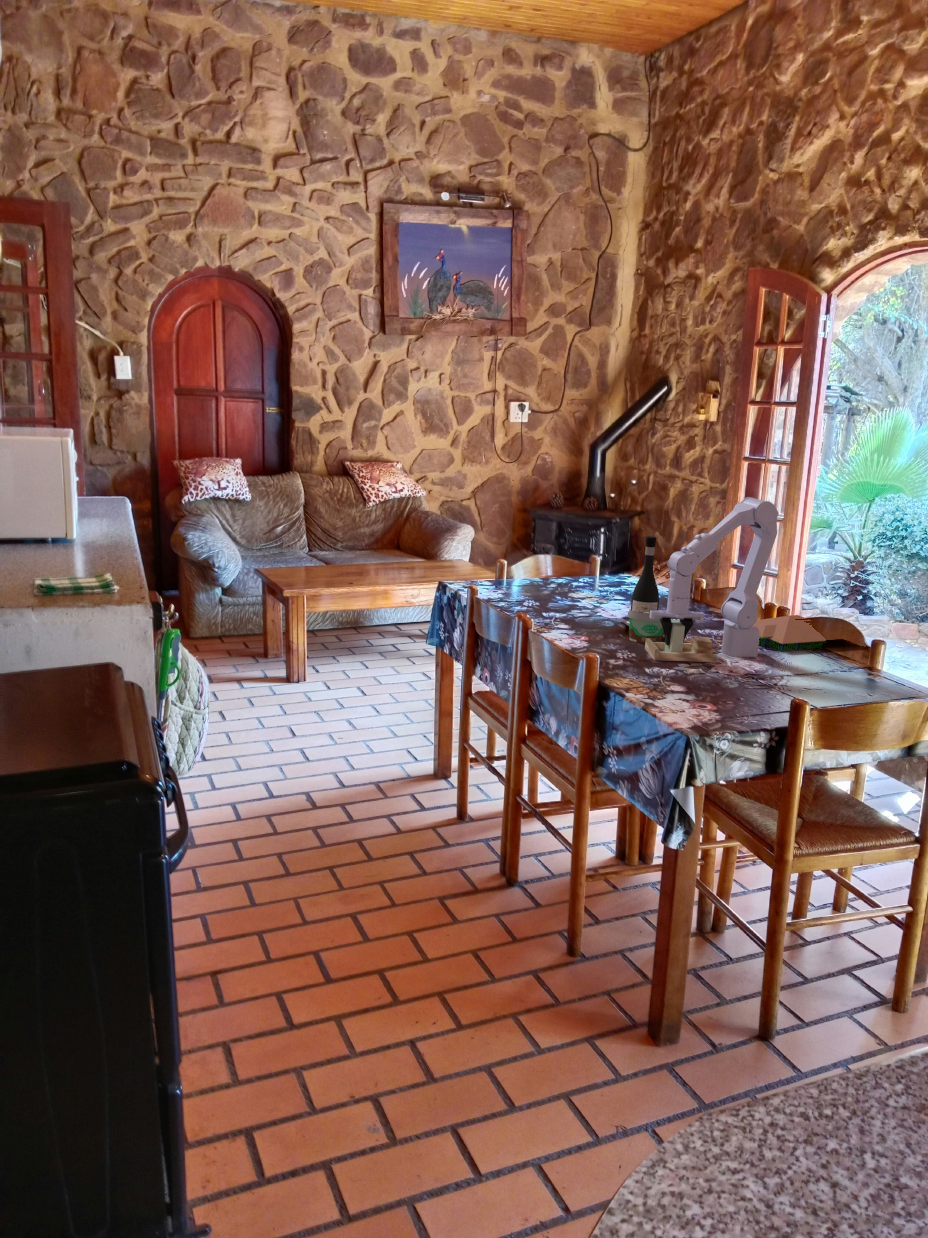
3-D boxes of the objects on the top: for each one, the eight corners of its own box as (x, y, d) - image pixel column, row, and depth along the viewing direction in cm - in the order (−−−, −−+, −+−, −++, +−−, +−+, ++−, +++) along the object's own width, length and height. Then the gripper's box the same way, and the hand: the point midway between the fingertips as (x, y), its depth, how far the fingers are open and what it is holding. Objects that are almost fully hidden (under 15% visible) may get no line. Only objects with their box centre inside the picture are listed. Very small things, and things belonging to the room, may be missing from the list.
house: (724, 634, 305) (727, 608, 303) (810, 628, 317) (813, 603, 315) (772, 655, 284) (776, 627, 282) (863, 648, 296) (867, 621, 295)
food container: (633, 648, 282) (636, 614, 279) (624, 643, 288) (627, 609, 285) (673, 647, 285) (676, 613, 283) (663, 642, 291) (666, 608, 288)
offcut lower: (705, 653, 277) (706, 644, 277) (711, 659, 271) (712, 650, 271) (691, 652, 277) (692, 643, 276) (697, 658, 271) (698, 649, 271)
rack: (707, 654, 280) (709, 640, 279) (719, 665, 269) (721, 651, 268) (644, 652, 279) (645, 638, 278) (653, 663, 268) (655, 649, 267)
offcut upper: (706, 644, 276) (707, 637, 276) (711, 649, 271) (712, 642, 271) (693, 644, 276) (694, 636, 275) (698, 649, 271) (699, 641, 270)
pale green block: (674, 651, 277) (678, 620, 275) (681, 658, 270) (684, 626, 268) (664, 651, 277) (667, 619, 275) (670, 658, 270) (673, 626, 268)
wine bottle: (655, 641, 290) (665, 539, 283) (627, 639, 292) (636, 537, 285) (655, 635, 298) (665, 535, 291) (628, 632, 300) (637, 533, 292)
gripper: (655, 598, 265) (651, 647, 269) (709, 600, 266) (704, 649, 270) (649, 592, 272) (645, 640, 275) (702, 594, 273) (696, 642, 276)
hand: (673, 644), depth 273 cm, fingers closed on pale green block, 3 cm apart
